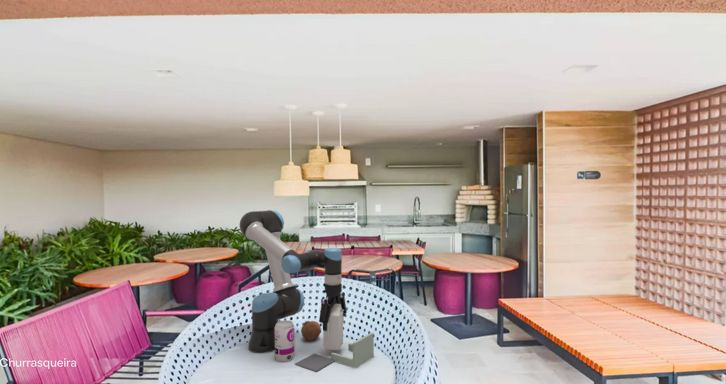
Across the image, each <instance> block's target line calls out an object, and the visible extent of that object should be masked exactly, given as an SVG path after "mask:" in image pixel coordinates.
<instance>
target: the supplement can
mask: <svg viewBox="0 0 726 384" xmlns="http://www.w3.org/2000/svg"><path fill="white" fill-rule="evenodd" d="M294 357H295V324H294V323H293V321H291V320H281V321H278V322H277V323H276V326H275V350H274V359H275V360H276V361H277V362H279V363H280V362H282V363H285V362H290V361H293V359H294Z"/></svg>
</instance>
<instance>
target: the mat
mask: <svg viewBox="0 0 726 384" xmlns="http://www.w3.org/2000/svg"><path fill="white" fill-rule="evenodd" d="M333 363H336V362H335V360H332V359H331V357H328V356H324V355H322V354H318V353H311V354H310V355H308V356H306V357H305V358H302V359H301V360H299V361H296V362H295V363H294V365H296V366H298V367H300V368H304V369H306V370H309V371H312V372H315V373H318V372H320V371H321V370H323V369H324V368H326V367H328V366H330V365H332V364H333Z"/></svg>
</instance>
